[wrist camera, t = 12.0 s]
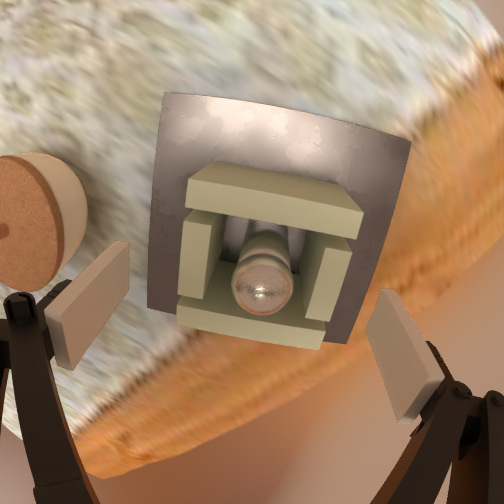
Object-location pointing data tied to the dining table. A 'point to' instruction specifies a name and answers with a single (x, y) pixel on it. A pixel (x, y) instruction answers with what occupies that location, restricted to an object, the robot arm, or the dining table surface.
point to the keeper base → (276, 153)
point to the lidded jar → (38, 219)
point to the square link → (274, 211)
